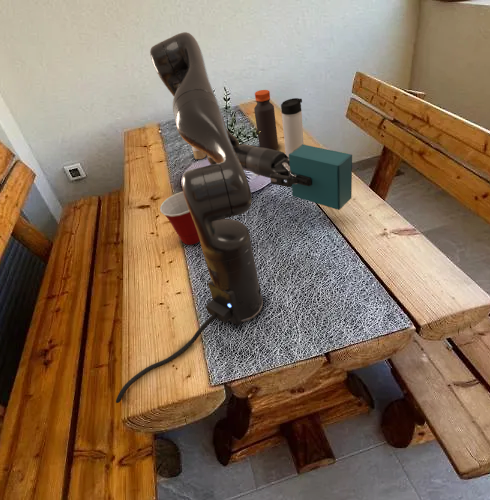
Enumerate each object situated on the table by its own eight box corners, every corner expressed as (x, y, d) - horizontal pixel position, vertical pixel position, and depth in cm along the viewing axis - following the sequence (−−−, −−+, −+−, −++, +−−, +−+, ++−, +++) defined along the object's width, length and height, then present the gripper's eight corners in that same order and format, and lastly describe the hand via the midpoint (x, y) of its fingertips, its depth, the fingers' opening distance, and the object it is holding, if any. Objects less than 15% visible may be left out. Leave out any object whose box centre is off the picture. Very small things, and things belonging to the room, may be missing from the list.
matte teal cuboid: (339, 210, 95) (338, 165, 87) (292, 196, 102) (288, 154, 95) (351, 198, 98) (352, 154, 90) (305, 185, 106) (302, 144, 98)
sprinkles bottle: (205, 152, 145) (197, 117, 137) (207, 158, 142) (198, 122, 133) (193, 155, 145) (184, 120, 136) (194, 160, 142) (185, 125, 133)
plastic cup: (173, 229, 110) (161, 193, 102) (211, 223, 109) (201, 186, 102) (170, 254, 101) (156, 217, 94) (211, 247, 101) (200, 209, 93)
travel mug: (304, 163, 128) (300, 103, 116) (285, 164, 130) (278, 104, 117) (306, 154, 133) (303, 95, 120) (287, 155, 135) (282, 97, 122)
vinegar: (281, 148, 139) (275, 91, 127) (265, 154, 138) (257, 97, 125) (273, 142, 144) (266, 87, 132) (256, 148, 142) (248, 92, 130)
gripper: (247, 161, 100) (301, 175, 90) (280, 139, 108) (333, 150, 98) (251, 186, 105) (303, 202, 95) (283, 163, 112) (334, 176, 103)
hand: (318, 175), depth 97 cm, fingers closed on matte teal cuboid, 6 cm apart
